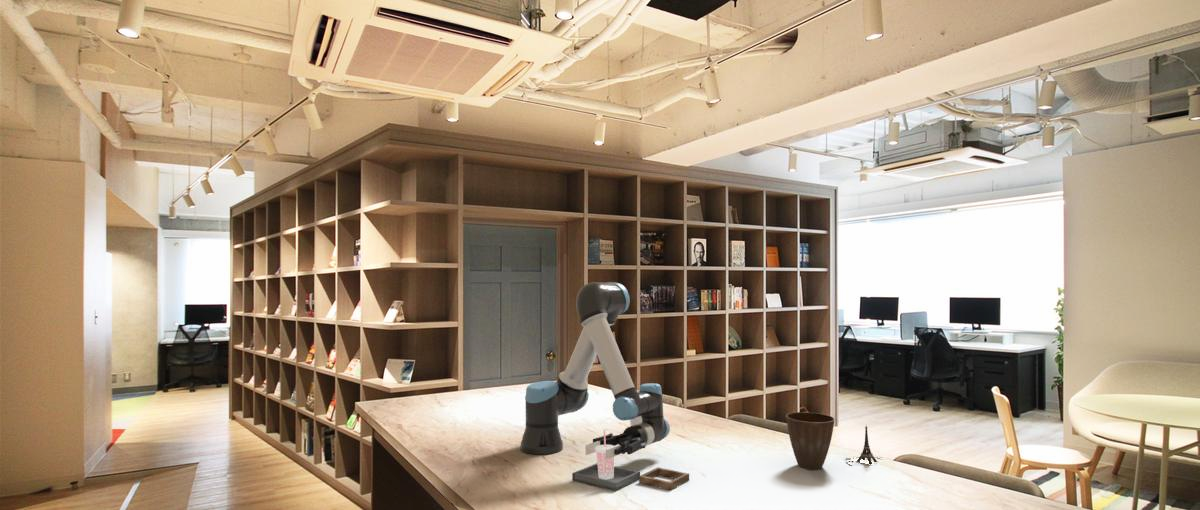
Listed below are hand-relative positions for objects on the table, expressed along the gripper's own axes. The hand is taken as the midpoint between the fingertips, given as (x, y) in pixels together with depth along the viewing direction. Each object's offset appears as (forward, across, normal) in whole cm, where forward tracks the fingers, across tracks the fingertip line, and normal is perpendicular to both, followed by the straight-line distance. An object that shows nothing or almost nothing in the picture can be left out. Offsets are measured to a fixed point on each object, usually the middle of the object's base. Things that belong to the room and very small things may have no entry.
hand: (596, 452), depth 184 cm
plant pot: (-55, -46, -10) cm, 72 cm away
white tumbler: (-50, +17, -10) cm, 54 cm away
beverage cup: (-5, 0, -9) cm, 10 cm away
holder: (-14, -15, -10) cm, 23 cm away
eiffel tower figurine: (-71, -60, -10) cm, 94 cm away
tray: (-5, 0, -10) cm, 11 cm away
